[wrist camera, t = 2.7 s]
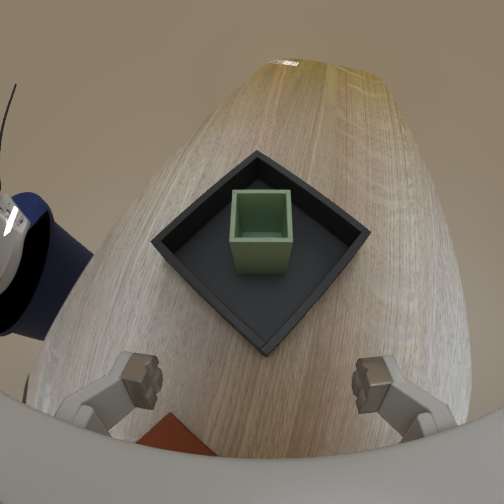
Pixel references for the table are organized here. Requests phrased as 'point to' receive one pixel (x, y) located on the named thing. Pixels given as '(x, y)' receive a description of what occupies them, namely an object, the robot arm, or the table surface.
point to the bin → (261, 285)
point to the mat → (174, 438)
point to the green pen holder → (261, 231)
